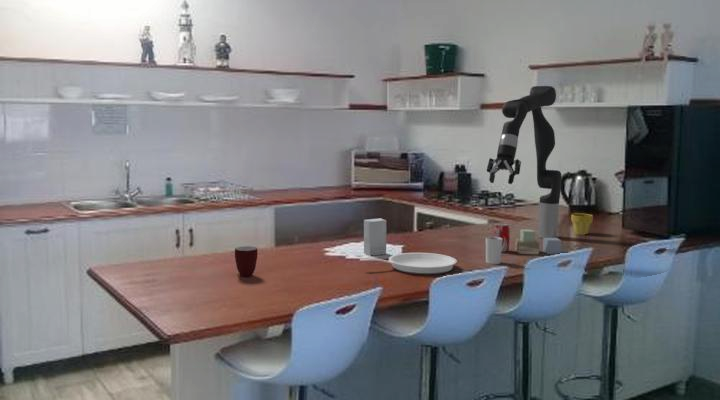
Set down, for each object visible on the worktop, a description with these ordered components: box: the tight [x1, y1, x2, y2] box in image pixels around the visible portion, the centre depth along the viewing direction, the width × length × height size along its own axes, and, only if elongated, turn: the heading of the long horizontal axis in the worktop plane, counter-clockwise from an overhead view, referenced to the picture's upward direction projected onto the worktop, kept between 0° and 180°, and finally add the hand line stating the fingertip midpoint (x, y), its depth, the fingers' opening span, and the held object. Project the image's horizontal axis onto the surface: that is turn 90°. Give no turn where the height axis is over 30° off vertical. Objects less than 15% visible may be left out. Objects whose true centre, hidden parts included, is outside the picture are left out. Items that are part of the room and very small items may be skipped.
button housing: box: [514, 238, 540, 255], centre depth 287 cm, size 8×8×5 cm
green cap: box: [519, 228, 536, 242], centre depth 287 cm, size 5×5×5 cm
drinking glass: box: [485, 236, 502, 265], centre depth 265 cm, size 7×7×10 cm
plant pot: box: [570, 212, 594, 236], centre depth 336 cm, size 10×10×10 cm
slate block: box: [542, 237, 562, 255], centre depth 288 cm, size 6×6×6 cm
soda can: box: [492, 222, 511, 253], centre depth 289 cm, size 7×7×12 cm
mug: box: [234, 245, 258, 278], centre depth 239 cm, size 11×8×10 cm
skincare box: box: [363, 217, 387, 256], centre depth 278 cm, size 8×6×15 cm
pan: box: [359, 252, 458, 275], centre depth 253 cm, size 26×39×5 cm
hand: (500, 183), depth 277 cm, fingers open, 8 cm apart
